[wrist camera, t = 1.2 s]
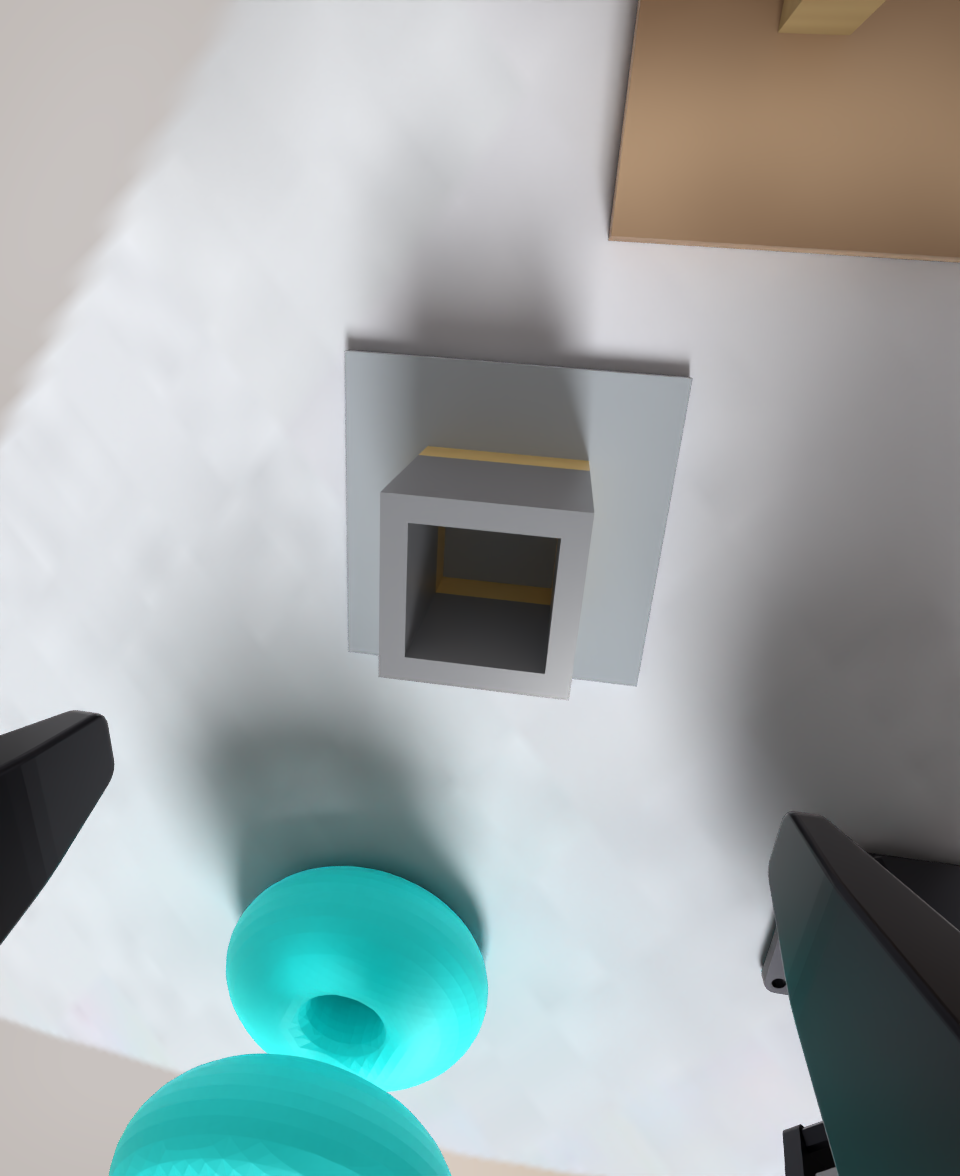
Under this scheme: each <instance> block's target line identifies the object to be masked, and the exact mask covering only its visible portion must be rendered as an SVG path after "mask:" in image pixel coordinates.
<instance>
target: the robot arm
mask: <svg viewBox="0 0 960 1176" xmlns="http://www.w3.org/2000/svg"><path fill="white" fill-rule="evenodd" d="M113 771H114V757H113V752H112V746H111V740H110V734H109V728H108V723H107V720H106V719H105V717H104V716H103V715H101V714H99V713H92V712H85V711H78V710H73V711H68V712H65V713H62V714H59V715H57V716H54V717H51V718H48V719H45V720H42V721H40V722H37V723H34V724H31V725H28V726H25V727H23V728H20V729H17V730H14V731H11V732H8V733H6V734H3V735H0V945H1V944H2V942H3V941H4V940H5V938H6V937H7V936H8V934H9V933H10V932H11V930H12V929H13V928H14V926H15V925H16V924H17V923H18V921H19V920H20V919H21V917H22V916H23V915H24V913H25V912H26V911H27V909H28V908H29V907H30V905H31V904H32V903H33V901H34V900H35V899H36V897H37V896H38V894H39V893H40V892H41V890H42V889H43V887H44V886H45V885H46V883H47V882H48V880H49V879H50V877H51V876H52V874H53V873H54V871H55V870H56V868H57V867H58V865H59V864H60V862H61V860H62V859H63V857H64V856H65V854H66V852H67V851H68V849H69V847H70V846H71V844H72V843H73V841H74V839H75V838H76V836H77V834H78V833H79V831H80V830H81V828H82V826H83V825H84V823H85V821H86V820H87V818H88V817H89V815H90V813H91V812H92V810H93V808H94V807H95V805H96V804H97V802H98V800H99V799H100V797H101V796H102V794H103V792H104V791H105V789H106V787H107V786H108V784H109V782H110V780H111V778H112V775H113ZM768 877H769V885H770V891H771V897H772V903H773V908H774V914H775V920H776V929H775V932H774V935H773V938H772V941H771V944H770V947H769V950H768V953H767V956H766V959H765V963H764V966H763V969H762V978H763V982H764V985H765V987H766V989H768V990H769V991H771V992H774V993H779V994H785V995H789V1000H790V1005H791V1009H792V1012H793V1016H794V1020H795V1024H796V1028H797V1031H798V1035H799V1038H800V1042H801V1046H802V1049H803V1053H804V1056H805V1060H806V1063H807V1067H808V1070H809V1074H810V1077H811V1081H812V1085H813V1088H814V1092H815V1095H816V1099H817V1102H818V1106H819V1109H820V1113H821V1116H822V1120H823V1121H821V1122H818V1123H815V1124H812V1125H810V1126H807V1127H803V1126H802V1125H801V1124H800V1125H797V1126H794V1127H792V1128H789V1129H786V1130H784V1131H783V1144H784V1157H785V1175H786V1176H960V866H959V865H951V864H944V863H937V862H930V861H923V860H915V859H908V858H901V857H894V856H886V855H879V854H872V853H866V852H865V851H864V850H863V849H862V848H861V847H859V846H858V845H857V844H856V843H855V842H853V841H852V840H851V839H850V838H849V837H848V836H846V835H845V834H844V833H843V832H842V831H840V830H839V829H838V828H837V827H836V826H834V825H833V824H832V823H831V822H830V821H829V820H827V819H826V818H825V817H823V816H821V815H817V814H810V813H802V812H795V811H791V812H789V813H787V814H786V815H785V816H784V818H783V820H782V822H781V825H780V829H779V832H778V835H777V838H776V841H775V845H774V848H773V851H772V854H771V857H770V861H769V868H768Z"/></svg>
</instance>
